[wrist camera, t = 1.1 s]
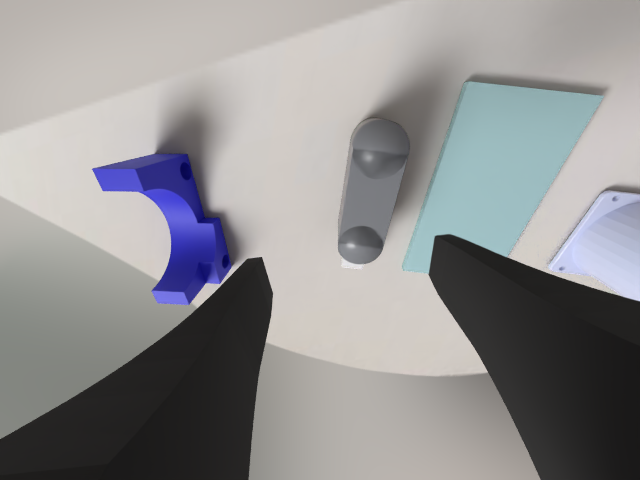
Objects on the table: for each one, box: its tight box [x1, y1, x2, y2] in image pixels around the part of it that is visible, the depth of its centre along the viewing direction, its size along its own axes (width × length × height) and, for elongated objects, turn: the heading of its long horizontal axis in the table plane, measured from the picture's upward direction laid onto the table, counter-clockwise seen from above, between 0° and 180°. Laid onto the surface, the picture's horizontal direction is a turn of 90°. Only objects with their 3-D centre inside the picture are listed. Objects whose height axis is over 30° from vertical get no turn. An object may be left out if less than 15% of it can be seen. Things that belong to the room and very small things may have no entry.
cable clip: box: [92, 154, 231, 305], centre depth 20 cm, size 12×4×6 cm, turn 1°
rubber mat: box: [402, 81, 604, 274], centre depth 20 cm, size 9×16×1 cm, turn 175°
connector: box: [338, 118, 410, 269], centre depth 19 cm, size 4×12×4 cm, turn 175°
